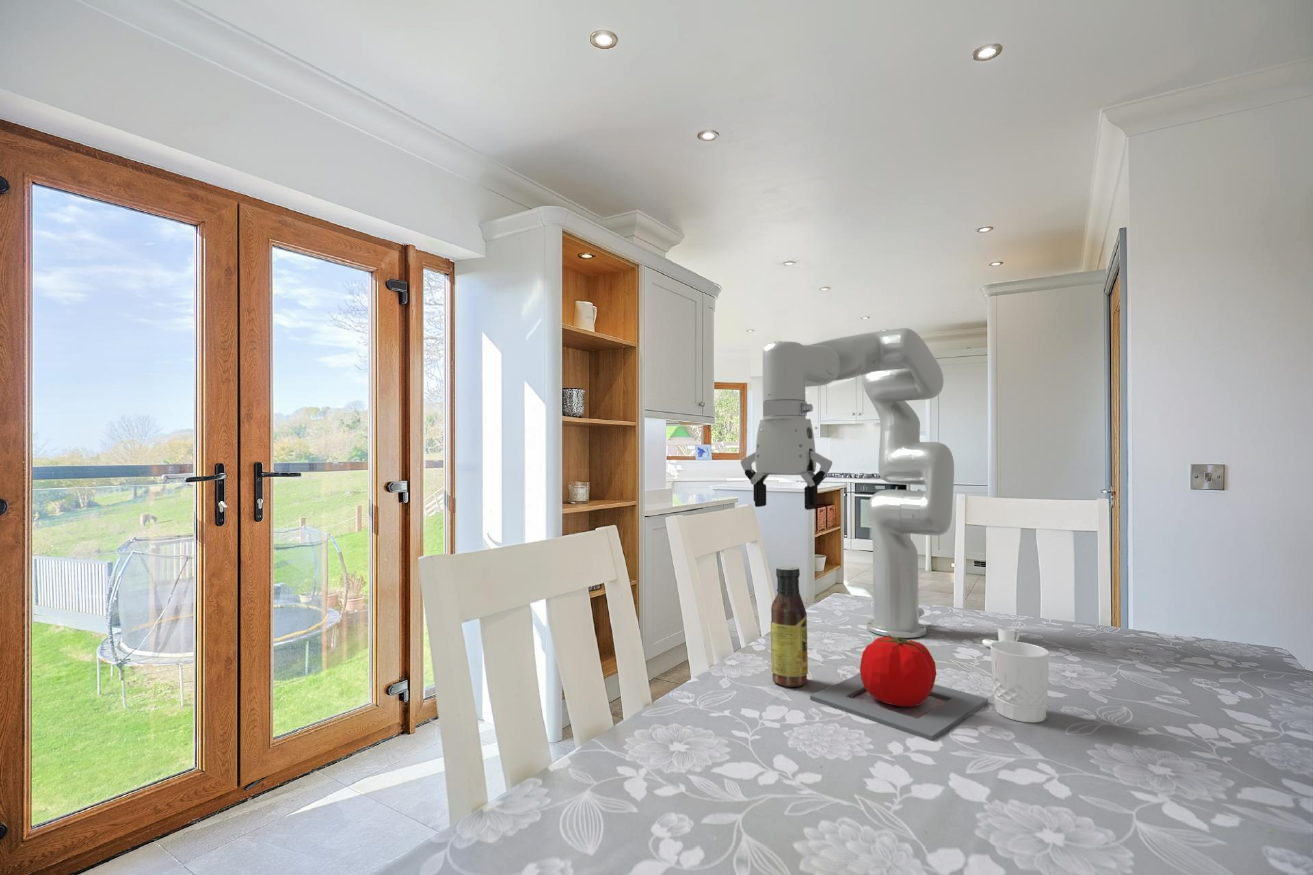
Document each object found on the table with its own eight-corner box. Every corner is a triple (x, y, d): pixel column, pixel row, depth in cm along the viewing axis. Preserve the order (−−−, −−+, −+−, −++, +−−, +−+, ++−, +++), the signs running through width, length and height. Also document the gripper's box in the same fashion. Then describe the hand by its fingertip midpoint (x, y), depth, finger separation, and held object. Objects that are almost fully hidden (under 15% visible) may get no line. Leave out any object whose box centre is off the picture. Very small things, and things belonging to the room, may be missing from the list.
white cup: (1034, 704, 101) (1033, 641, 102) (1060, 726, 94) (1059, 657, 94) (982, 703, 102) (981, 640, 102) (1004, 723, 94) (1003, 655, 95)
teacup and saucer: (984, 652, 129) (984, 632, 129) (977, 641, 137) (977, 622, 137) (1033, 656, 127) (1033, 635, 127) (1023, 644, 134) (1023, 625, 134)
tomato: (888, 719, 96) (887, 650, 96) (846, 692, 107) (845, 630, 107) (955, 711, 99) (954, 644, 99) (907, 685, 110) (906, 625, 110)
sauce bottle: (811, 689, 108) (810, 571, 109) (774, 688, 108) (773, 571, 109) (803, 675, 115) (802, 564, 115) (768, 675, 115) (767, 564, 115)
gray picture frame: (873, 670, 117) (873, 667, 117) (988, 702, 102) (988, 698, 102) (810, 699, 104) (810, 695, 104) (932, 740, 89) (931, 736, 89)
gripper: (838, 410, 112) (839, 508, 111) (751, 414, 122) (752, 503, 122) (821, 408, 106) (822, 512, 105) (731, 412, 116) (732, 506, 116)
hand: (784, 507), depth 114 cm, fingers open, 9 cm apart
